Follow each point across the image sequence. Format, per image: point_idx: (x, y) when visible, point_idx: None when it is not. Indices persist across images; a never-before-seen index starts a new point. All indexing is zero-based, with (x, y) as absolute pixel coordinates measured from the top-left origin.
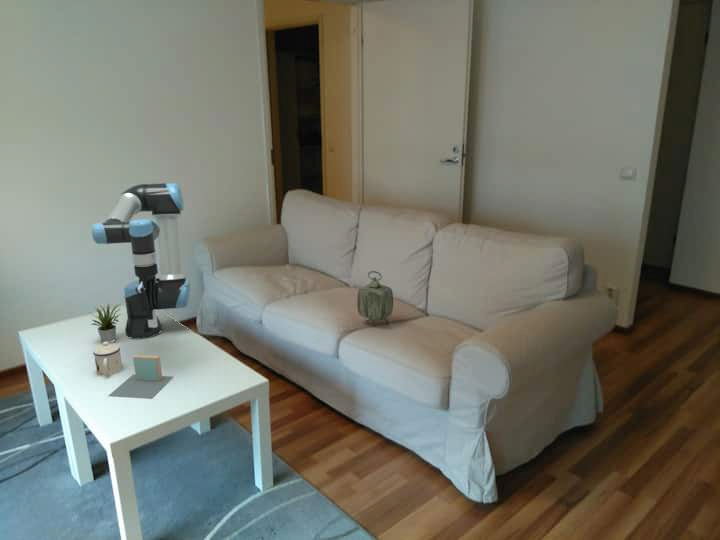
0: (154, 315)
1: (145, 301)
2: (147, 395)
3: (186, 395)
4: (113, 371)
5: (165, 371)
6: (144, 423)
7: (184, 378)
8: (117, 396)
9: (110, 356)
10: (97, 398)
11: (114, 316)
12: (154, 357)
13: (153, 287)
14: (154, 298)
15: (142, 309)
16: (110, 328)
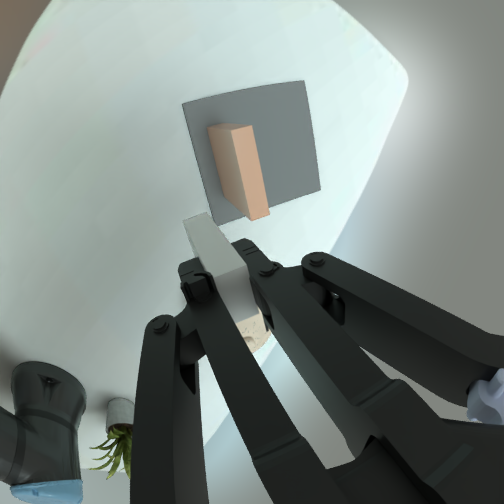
0: (228, 245)
1: (408, 299)
2: (295, 101)
3: (258, 14)
4: None
5: (158, 160)
6: (369, 49)
7: (175, 72)
8: (317, 168)
9: None
10: (326, 206)
11: (102, 448)
12: (248, 139)
13: (330, 481)
14: (238, 360)
15: (334, 299)
16: (118, 426)
